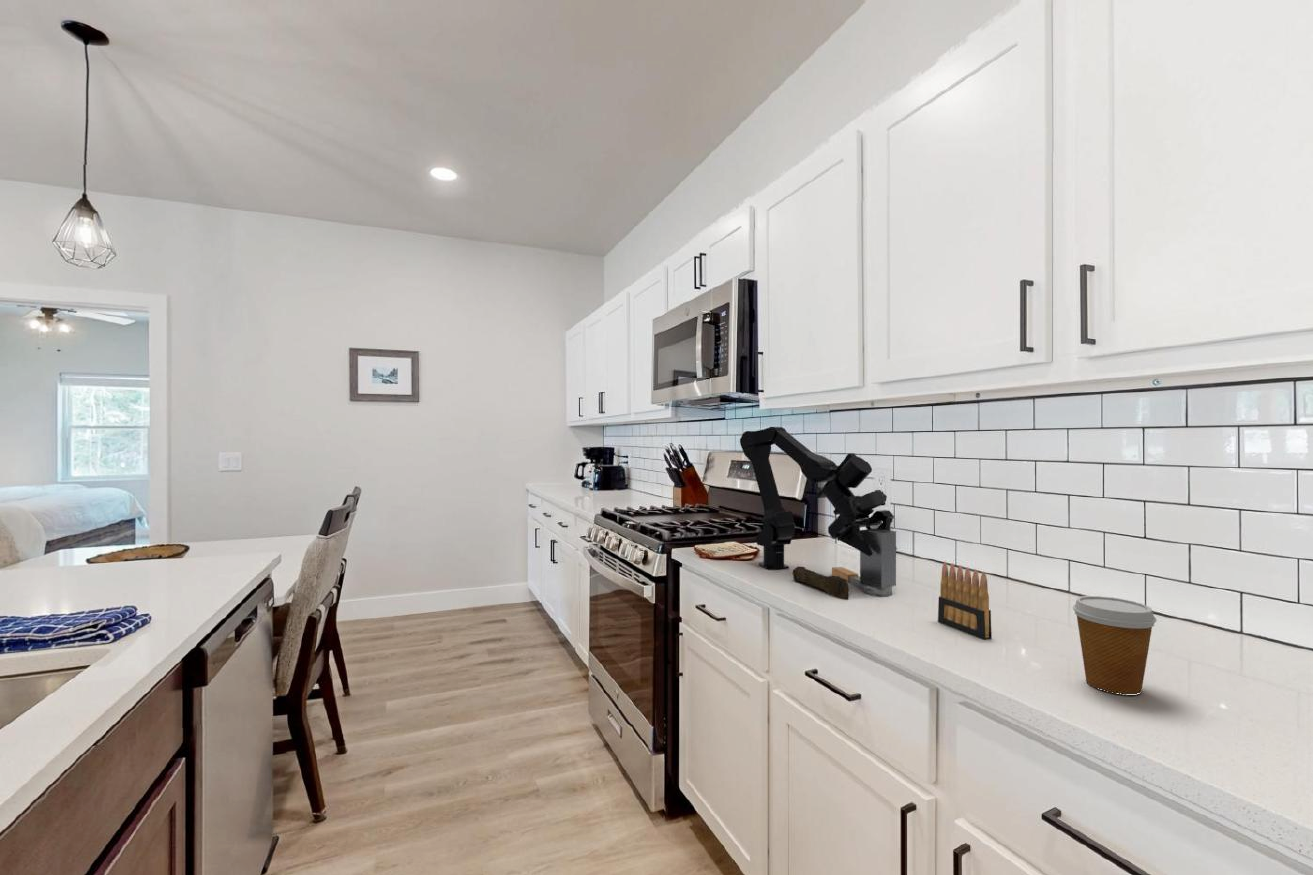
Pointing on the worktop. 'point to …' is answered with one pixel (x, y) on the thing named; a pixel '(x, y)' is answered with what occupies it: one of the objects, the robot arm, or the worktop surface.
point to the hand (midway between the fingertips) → (883, 552)
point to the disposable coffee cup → (1114, 642)
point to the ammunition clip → (965, 602)
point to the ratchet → (855, 580)
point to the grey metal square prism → (879, 559)
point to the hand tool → (823, 582)
